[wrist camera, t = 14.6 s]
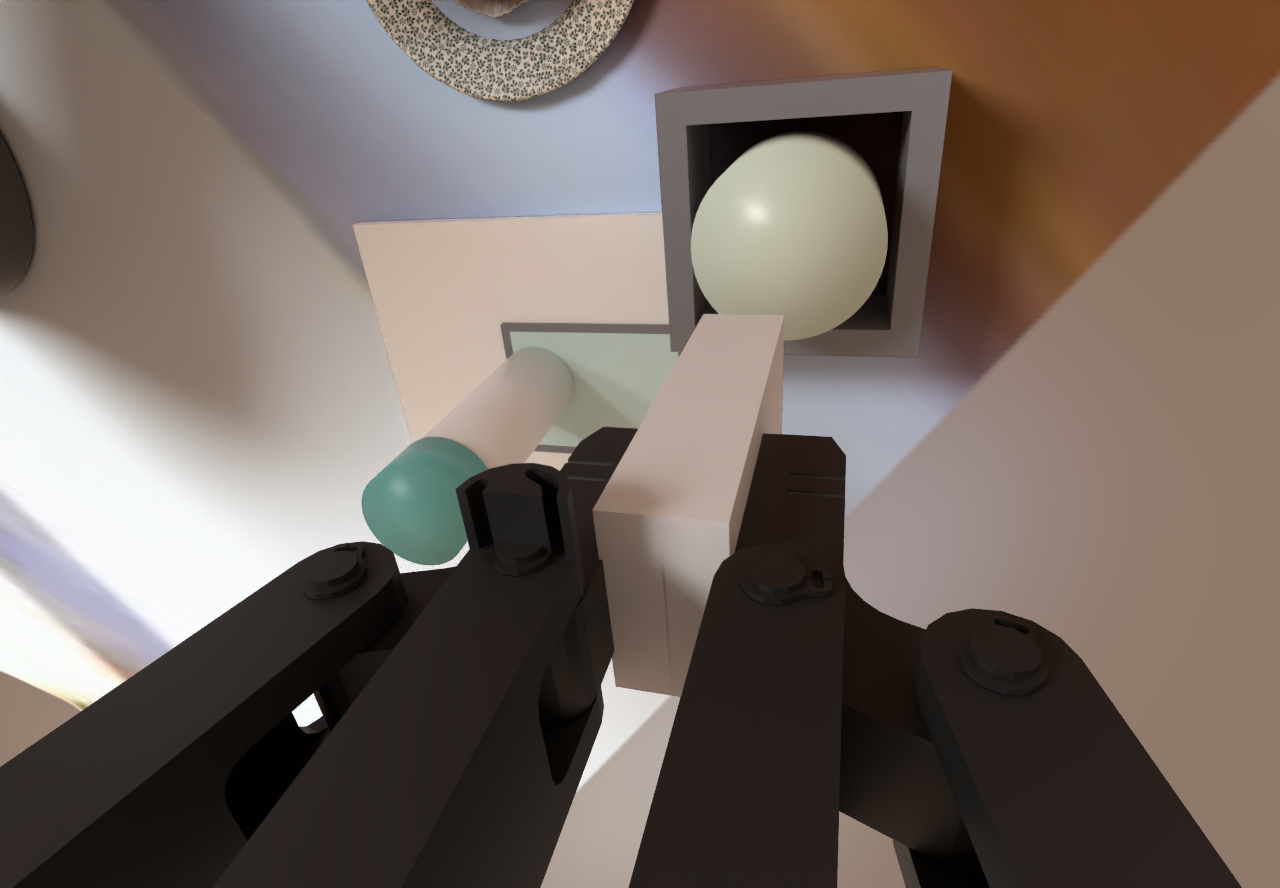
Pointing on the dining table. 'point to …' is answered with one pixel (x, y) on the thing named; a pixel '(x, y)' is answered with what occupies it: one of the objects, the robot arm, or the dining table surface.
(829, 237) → the button
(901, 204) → the button housing
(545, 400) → the marker
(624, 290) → the sheet
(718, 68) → the dining table surface
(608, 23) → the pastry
